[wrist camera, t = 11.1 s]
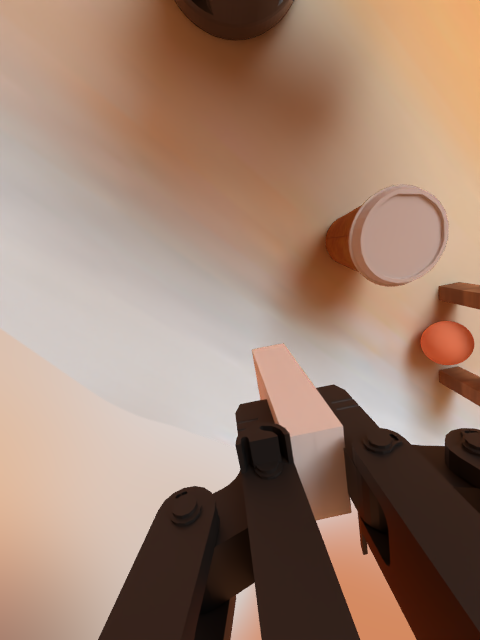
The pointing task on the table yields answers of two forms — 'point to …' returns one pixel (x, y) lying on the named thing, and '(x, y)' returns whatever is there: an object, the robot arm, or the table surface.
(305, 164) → the table surface
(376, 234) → the disposable coffee cup
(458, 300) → the bridge
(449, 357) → the ball
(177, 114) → the table surface
